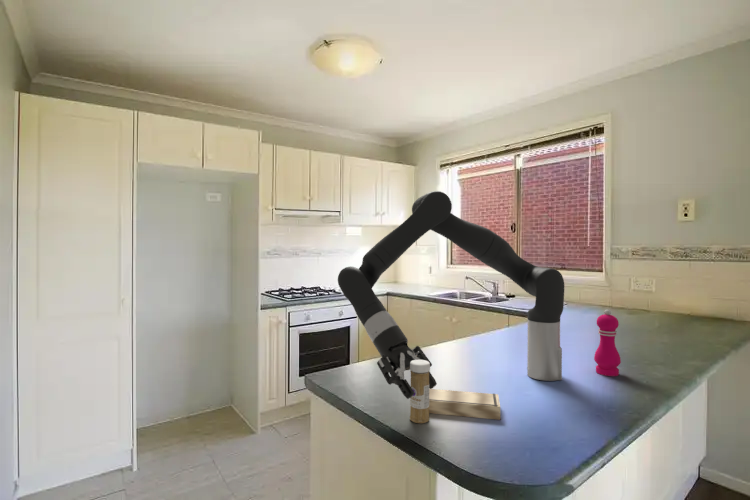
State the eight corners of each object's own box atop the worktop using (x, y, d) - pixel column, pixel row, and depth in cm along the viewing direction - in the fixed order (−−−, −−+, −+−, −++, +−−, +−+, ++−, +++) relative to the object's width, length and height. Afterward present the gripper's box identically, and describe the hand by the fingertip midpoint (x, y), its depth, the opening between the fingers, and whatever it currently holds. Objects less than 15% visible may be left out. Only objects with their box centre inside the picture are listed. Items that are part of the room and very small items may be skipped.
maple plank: (498, 406, 101) (498, 393, 101) (500, 419, 93) (500, 406, 93) (418, 399, 105) (418, 387, 105) (413, 411, 97) (413, 398, 97)
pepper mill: (619, 371, 128) (619, 308, 128) (622, 378, 122) (622, 312, 122) (593, 368, 131) (593, 307, 131) (594, 375, 125) (595, 310, 125)
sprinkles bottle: (406, 420, 93) (406, 362, 92) (417, 414, 96) (417, 357, 96) (422, 426, 90) (422, 365, 89) (433, 419, 93) (433, 361, 93)
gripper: (373, 329, 93) (412, 391, 85) (411, 320, 103) (450, 375, 95) (357, 348, 96) (393, 409, 89) (395, 338, 107) (431, 392, 99)
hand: (422, 391), depth 92 cm, fingers open, 8 cm apart
